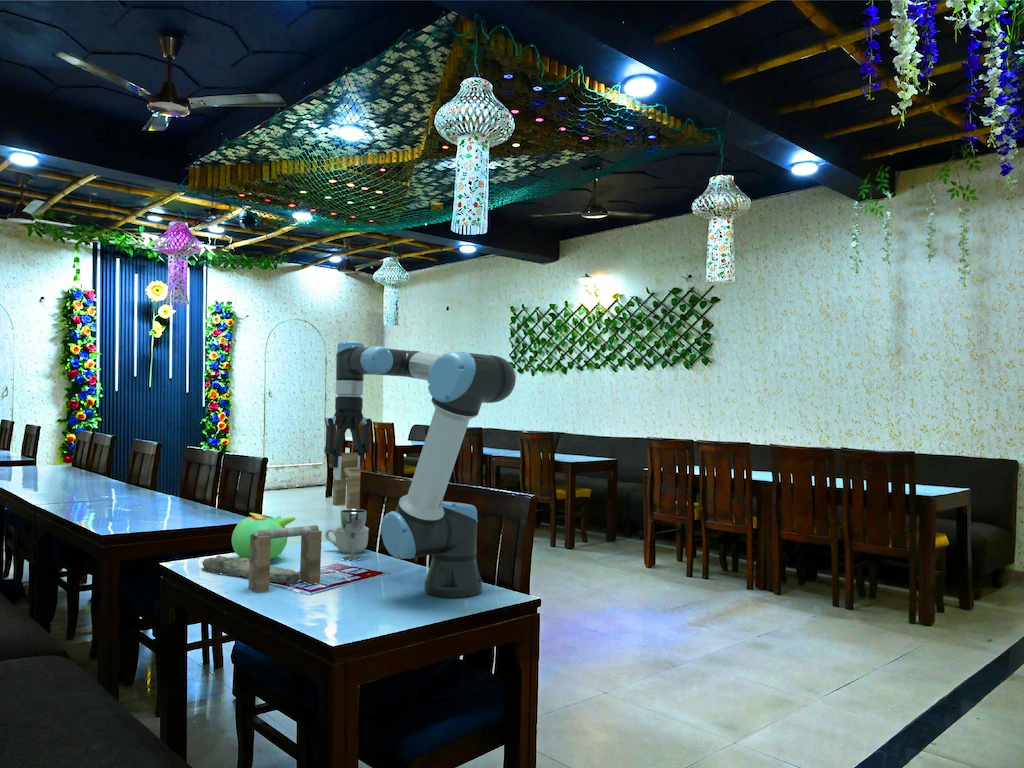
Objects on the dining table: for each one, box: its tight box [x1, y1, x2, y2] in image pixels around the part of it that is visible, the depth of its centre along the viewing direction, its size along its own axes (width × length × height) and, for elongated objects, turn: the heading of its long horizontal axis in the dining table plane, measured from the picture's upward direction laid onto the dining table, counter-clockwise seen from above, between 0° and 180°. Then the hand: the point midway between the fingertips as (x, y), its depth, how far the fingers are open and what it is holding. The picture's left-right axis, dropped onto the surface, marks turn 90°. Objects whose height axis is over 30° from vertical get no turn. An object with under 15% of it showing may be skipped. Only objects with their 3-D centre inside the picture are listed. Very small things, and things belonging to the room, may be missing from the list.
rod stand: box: [248, 524, 323, 594], centre depth 190 cm, size 6×17×15 cm, turn 131°
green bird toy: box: [231, 512, 296, 561], centre depth 220 cm, size 18×17×15 cm
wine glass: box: [340, 508, 367, 560], centre depth 226 cm, size 8×8×15 cm
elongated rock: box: [202, 555, 300, 584], centre depth 201 cm, size 35×5×10 cm
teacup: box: [324, 525, 370, 554], centre depth 237 cm, size 14×11×8 cm
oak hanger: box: [332, 452, 361, 509], centre depth 201 cm, size 10×5×15 cm, turn 41°
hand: (346, 478), depth 201 cm, fingers closed on oak hanger, 5 cm apart
